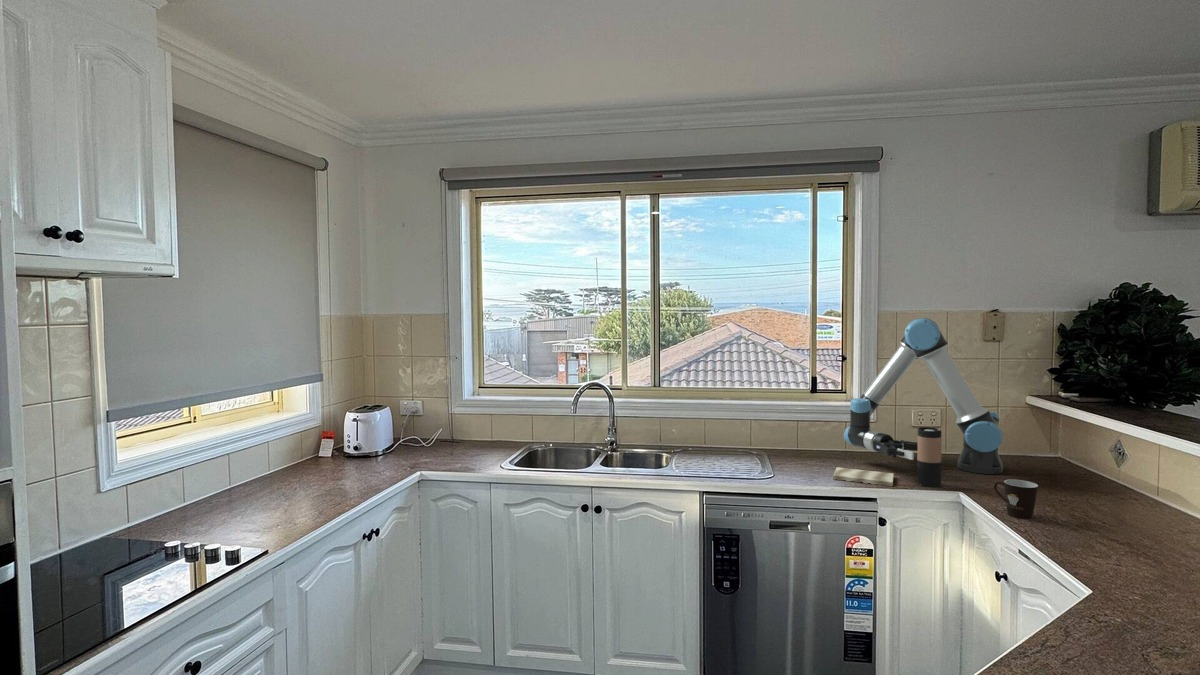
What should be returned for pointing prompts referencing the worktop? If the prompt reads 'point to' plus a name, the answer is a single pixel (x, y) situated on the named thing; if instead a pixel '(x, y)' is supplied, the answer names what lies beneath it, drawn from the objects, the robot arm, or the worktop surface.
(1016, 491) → the coffee mug
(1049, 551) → the worktop surface
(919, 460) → the travel mug
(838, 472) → the dock pad
